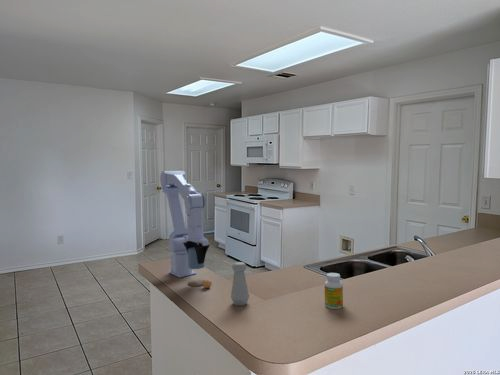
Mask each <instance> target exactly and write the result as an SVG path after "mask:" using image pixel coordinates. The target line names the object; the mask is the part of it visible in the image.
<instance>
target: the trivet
mask: <svg viewBox="0 0 500 375" xmlns="http://www.w3.org/2000/svg"><path fill="white" fill-rule="evenodd" d="M204 280H205V279H193V280H189V281H188V282H187V285H188V286H189V287H204V286H203V281H204Z"/></svg>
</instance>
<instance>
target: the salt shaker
mask: <svg viewBox="0 0 500 375" xmlns="http://www.w3.org/2000/svg"><path fill="white" fill-rule="evenodd" d="M231 270H232V271H233V279H232V286H231V292H230V298H231V300H232V303H233V305H235V306H240V307H241V306H245V304H246V305H247V304H248V300H249V298H250V292H249V288H248V283H247V280H246V275H245V271H246V270H247V264H246V263H245V262H244V261H237V262H234V263H233V264H232V269H231Z"/></svg>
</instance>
